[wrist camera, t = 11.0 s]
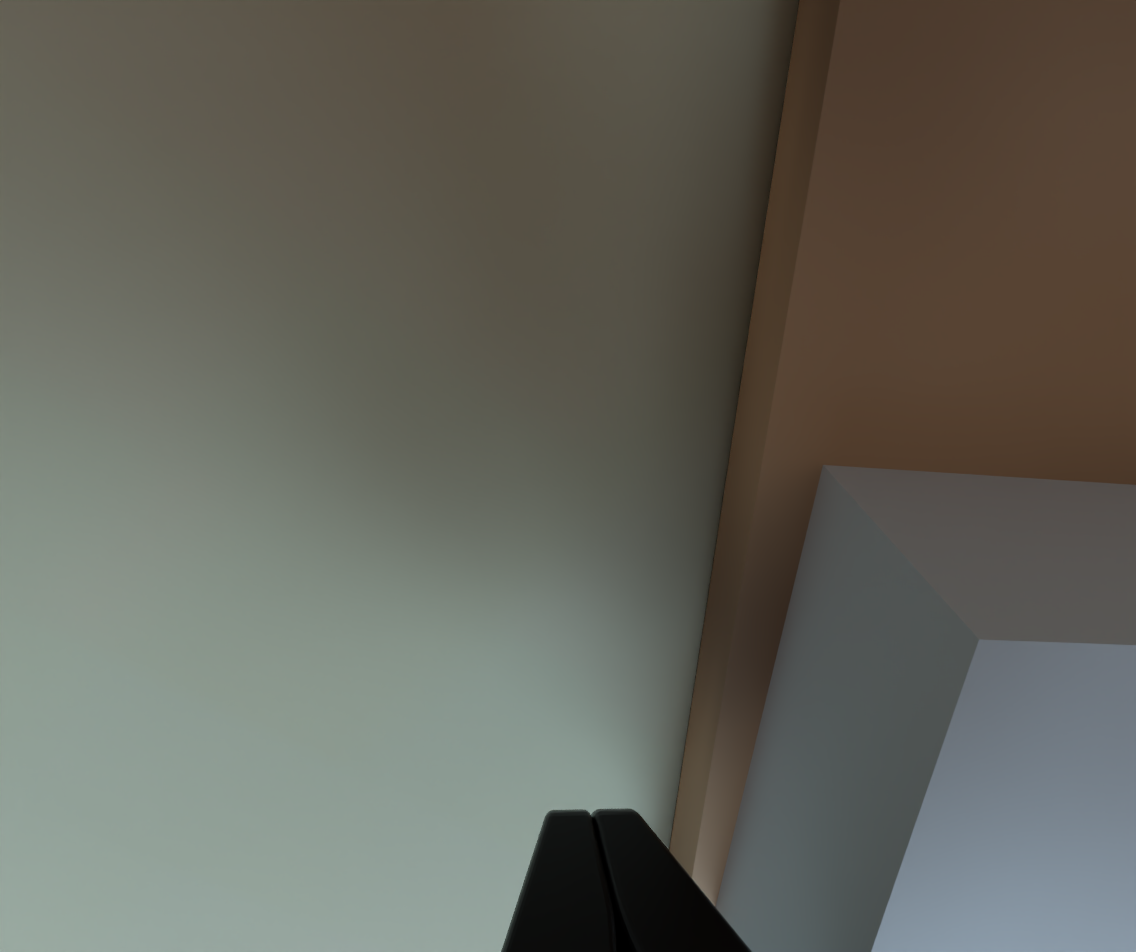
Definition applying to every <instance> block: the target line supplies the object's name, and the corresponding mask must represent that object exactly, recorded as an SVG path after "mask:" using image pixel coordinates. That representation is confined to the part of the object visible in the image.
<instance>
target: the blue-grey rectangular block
mask: <svg viewBox="0 0 1136 952" xmlns="http://www.w3.org/2000/svg"><path fill="white" fill-rule="evenodd" d="M716 908H717V910H718V911H719V912H720V913H721V915H722V916H723V917H724V918H725V919H726V921H727V922H728V923H729V924H730V926H731V927H732V928H733V929H734V930H735V932H736V933H737V934H738V935H739V937H740V938H741V939H742V940H743V941H744V943H745V944H746V945H747V946H748V947H749V949H750V950H751V951H752V952H1136V485H1129V484H1113V483H1098V482H1082V481H1066V480H1051V479H1035V478H1020V477H1004V476H988V475H973V474H957V473H941V472H926V471H910V470H895V469H879V468H863V467H848V466H832V465H823V467H822V471H821V475H820V479H819V483H818V487H817V492H816V496H815V500H814V504H813V508H812V512H811V516H810V520H809V524H808V529H807V533H806V537H805V541H804V545H803V549H802V553H801V557H800V562H799V566H798V570H797V574H796V578H795V582H794V586H793V590H792V594H791V599H790V603H789V607H788V611H787V615H786V619H785V623H784V627H783V631H782V636H781V640H780V644H779V648H778V652H777V656H776V660H775V664H774V668H773V673H772V677H771V681H770V685H769V689H768V693H767V697H766V701H765V705H764V710H763V714H762V718H761V722H760V726H759V730H758V734H757V738H756V742H755V747H754V751H753V755H752V759H751V763H750V767H749V771H748V775H747V779H746V784H745V788H744V792H743V796H742V800H741V804H740V808H739V812H738V816H737V821H736V825H735V829H734V833H733V837H732V841H731V845H730V849H729V853H728V858H727V862H726V866H725V870H724V874H723V878H722V882H721V886H720V890H719V895H718V899H717V903H716Z"/></svg>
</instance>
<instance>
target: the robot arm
mask: <svg viewBox="0 0 1136 952" xmlns="http://www.w3.org/2000/svg"><path fill="white" fill-rule="evenodd" d="M501 952H752V951H751V950H750V949H749V947H748V946H747V945H746V944H745V943H744V941H743V940H742V939H741V938H740V937H739V935H738V934H737V933H736V932H735V930H734V929H733V928H732V927H731V926H730V924H729V923H728V922H727V921H726V919H725V918H724V917H723V916H722V915H721V913H720V912H719V911H718V910H717V908H716V907H715V906H714V905H713V904H712V902H711V901H710V900H709V899H708V897H707V896H706V895H705V894H704V893H703V891H702V890H701V889H700V888H699V887H698V885H697V884H696V883H695V882H694V880H693V879H692V878H691V877H690V876H689V874H688V873H687V872H686V871H685V869H684V868H683V867H682V866H681V865H680V863H679V862H678V861H677V860H676V858H675V857H674V856H673V855H672V854H671V852H670V851H669V850H668V849H667V847H666V846H665V845H664V844H663V843H662V841H661V840H660V839H659V838H658V837H657V835H656V834H655V833H654V832H653V830H652V829H651V828H650V827H649V826H648V824H647V823H646V822H645V821H644V819H643V818H642V817H641V816H640V815H639V814H638V813H637V812H636V811H634V810H632V809H598V810H596V811H594V812H593V813H592V815H590V813H589V812H588V811H586V810H552V811H550V812H548V813H547V815H546V816H545V819H544V822H543V825H542V828H541V831H540V834H539V837H538V840H537V843H536V846H535V850H534V853H533V856H532V859H531V862H530V865H529V868H528V871H527V874H526V877H525V880H524V883H523V886H522V890H521V893H520V896H519V899H518V902H517V905H516V908H515V911H514V914H513V917H512V920H511V923H510V926H509V930H508V933H507V936H506V939H505V942H504V945H503V948H502V951H501Z"/></svg>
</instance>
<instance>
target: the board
mask: <svg viewBox="0 0 1136 952" xmlns="http://www.w3.org/2000/svg"><path fill="white" fill-rule="evenodd" d="M823 465H832V466H848V467H863V468H879V469H895V470H910V471H926V472H941V473H957V474H973V475H988V476H1004V477H1020V478H1035V479H1051V480H1066V481H1082V482H1098V483H1113V484H1129V485H1136V0H799V7H798V13H797V20H796V26H795V33H794V39H793V46H792V52H791V59H790V65H789V72H788V78H787V85H786V92H785V98H784V105H783V111H782V118H781V124H780V131H779V137H778V144H777V150H776V157H775V163H774V170H773V176H772V183H771V189H770V196H769V203H768V209H767V216H766V222H765V229H764V235H763V242H762V248H761V255H760V261H759V268H758V274H757V281H756V287H755V294H754V300H753V307H752V314H751V320H750V327H749V333H748V340H747V346H746V353H745V359H744V366H743V372H742V379H741V385H740V392H739V398H738V405H737V411H736V418H735V425H734V431H733V438H732V444H731V451H730V457H729V464H728V470H727V477H726V483H725V490H724V496H723V503H722V509H721V516H720V522H719V529H718V536H717V542H716V549H715V555H714V562H713V568H712V575H711V581H710V588H709V594H708V601H707V607H706V614H705V620H704V627H703V633H702V640H701V647H700V653H699V660H698V666H697V673H696V679H695V686H694V692H693V699H692V705H691V712H690V718H689V725H688V731H687V738H686V744H685V751H684V758H683V764H682V771H681V777H680V784H679V790H678V797H677V803H676V810H675V816H674V823H673V829H672V836H671V842H670V849H669V851H670V852H671V854H672V855H673V856H674V857H675V858H676V860H677V861H678V862H679V863H680V865H681V866H682V867H683V868H684V869H685V871H686V872H687V873H688V874H689V876H690V877H691V878H692V879H693V880H694V882H695V883H696V884H697V885H698V887H699V888H700V889H701V890H702V891H703V893H704V894H705V895H706V896H707V897H708V899H709V900H710V901H711V902H712V904H713V905H714V906H715V907H716V903H717V899H718V895H719V890H720V886H721V882H722V878H723V874H724V870H725V866H726V862H727V858H728V853H729V849H730V845H731V841H732V837H733V833H734V829H735V825H736V821H737V816H738V812H739V808H740V804H741V800H742V796H743V792H744V788H745V784H746V779H747V775H748V771H749V767H750V763H751V759H752V755H753V751H754V747H755V742H756V738H757V734H758V730H759V726H760V722H761V718H762V714H763V710H764V705H765V701H766V697H767V693H768V689H769V685H770V681H771V677H772V673H773V668H774V664H775V660H776V656H777V652H778V648H779V644H780V640H781V636H782V631H783V627H784V623H785V619H786V615H787V611H788V607H789V603H790V599H791V594H792V590H793V586H794V582H795V578H796V574H797V570H798V566H799V562H800V557H801V553H802V549H803V545H804V541H805V537H806V533H807V529H808V524H809V520H810V516H811V512H812V508H813V504H814V500H815V496H816V492H817V487H818V483H819V479H820V475H821V471H822V467H823Z"/></svg>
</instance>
